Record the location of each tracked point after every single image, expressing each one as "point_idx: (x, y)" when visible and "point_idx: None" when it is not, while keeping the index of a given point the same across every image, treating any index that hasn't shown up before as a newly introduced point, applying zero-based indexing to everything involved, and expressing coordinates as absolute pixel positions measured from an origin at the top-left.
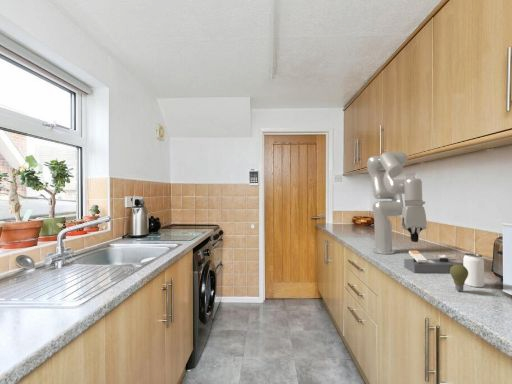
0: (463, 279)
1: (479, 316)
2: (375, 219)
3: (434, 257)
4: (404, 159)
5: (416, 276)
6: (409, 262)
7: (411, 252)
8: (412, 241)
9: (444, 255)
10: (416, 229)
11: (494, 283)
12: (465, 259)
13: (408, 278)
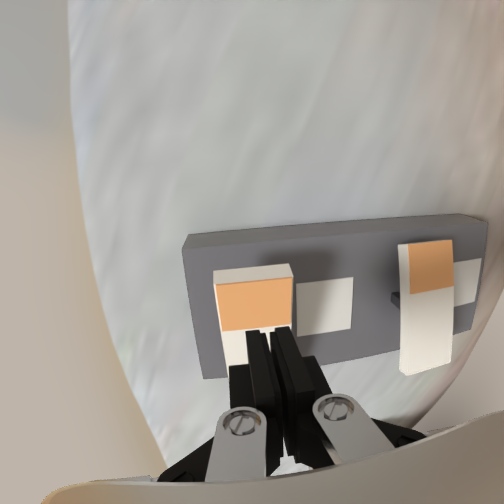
0: None
1: None
2: None
3: (398, 245)
4: None
5: (196, 394)
6: (193, 323)
7: (222, 316)
8: (247, 353)
9: (405, 368)
10: (360, 449)
11: (424, 409)
12: None
13: (154, 416)
